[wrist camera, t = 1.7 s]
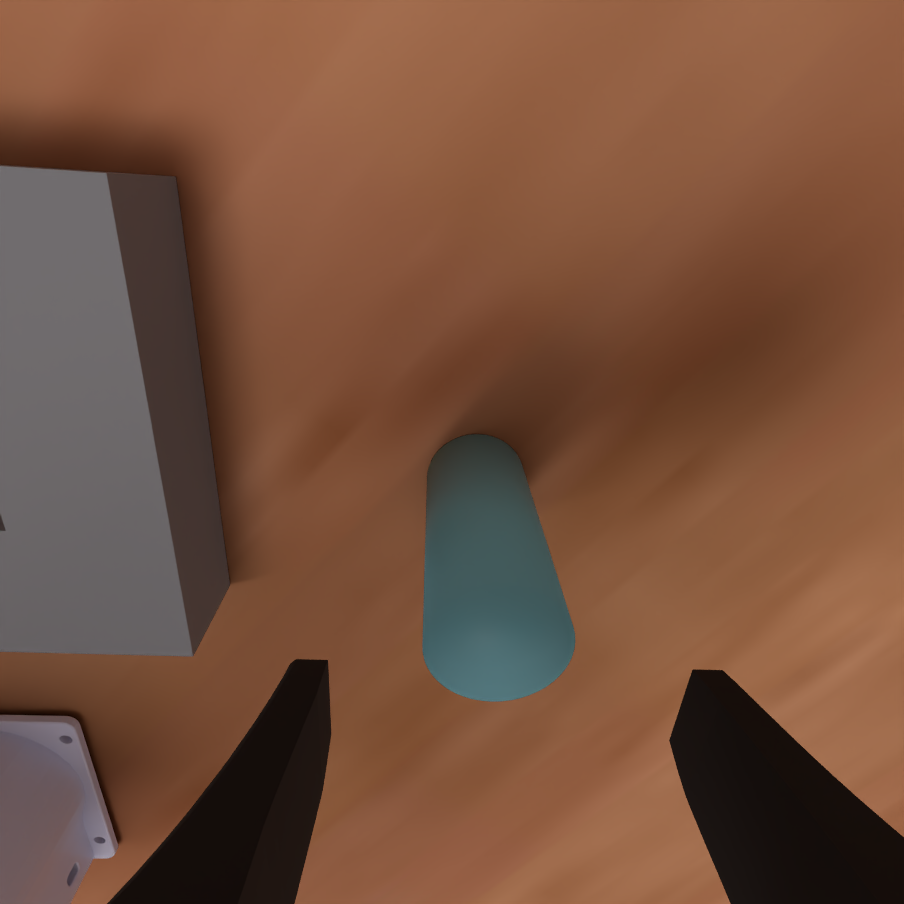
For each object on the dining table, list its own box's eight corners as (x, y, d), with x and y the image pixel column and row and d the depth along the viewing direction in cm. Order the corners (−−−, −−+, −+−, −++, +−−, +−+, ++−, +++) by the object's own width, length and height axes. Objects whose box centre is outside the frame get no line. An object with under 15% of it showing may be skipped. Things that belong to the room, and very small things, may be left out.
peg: (517, 521, 20) (563, 702, 13) (425, 518, 20) (419, 700, 13) (528, 436, 19) (586, 587, 12) (429, 431, 19) (425, 582, 12)
